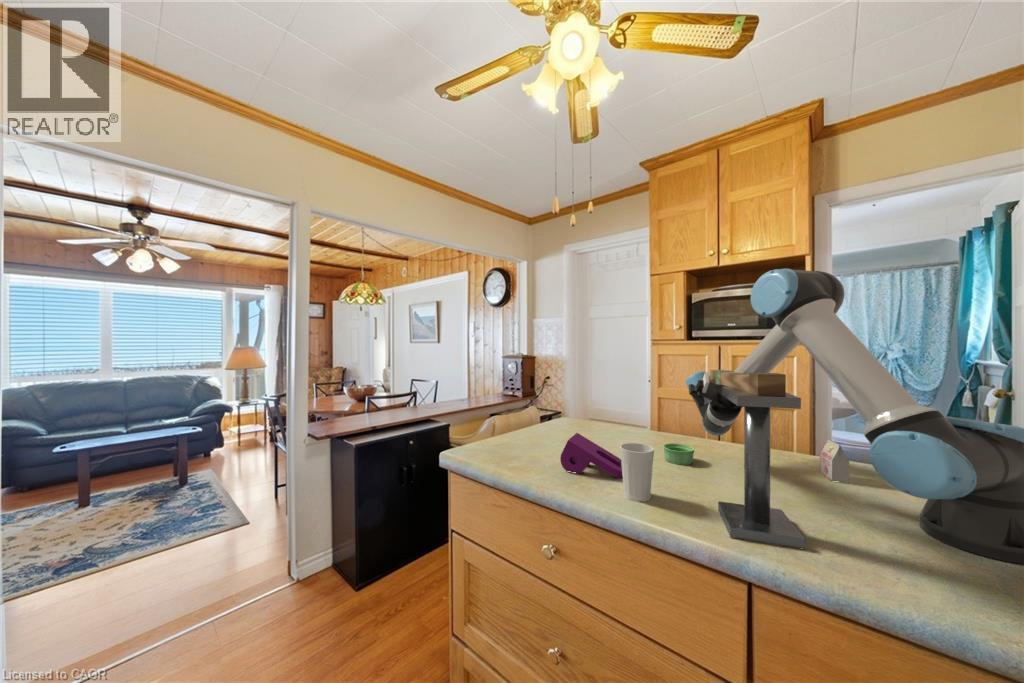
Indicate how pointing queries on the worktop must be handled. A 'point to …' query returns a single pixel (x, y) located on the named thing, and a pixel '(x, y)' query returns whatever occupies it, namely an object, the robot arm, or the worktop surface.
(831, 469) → the milk carton
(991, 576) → the worktop surface
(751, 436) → the charcoal stand
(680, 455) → the ramekin
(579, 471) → the mounting bracket
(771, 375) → the walnut bar
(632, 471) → the cup
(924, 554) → the worktop surface
